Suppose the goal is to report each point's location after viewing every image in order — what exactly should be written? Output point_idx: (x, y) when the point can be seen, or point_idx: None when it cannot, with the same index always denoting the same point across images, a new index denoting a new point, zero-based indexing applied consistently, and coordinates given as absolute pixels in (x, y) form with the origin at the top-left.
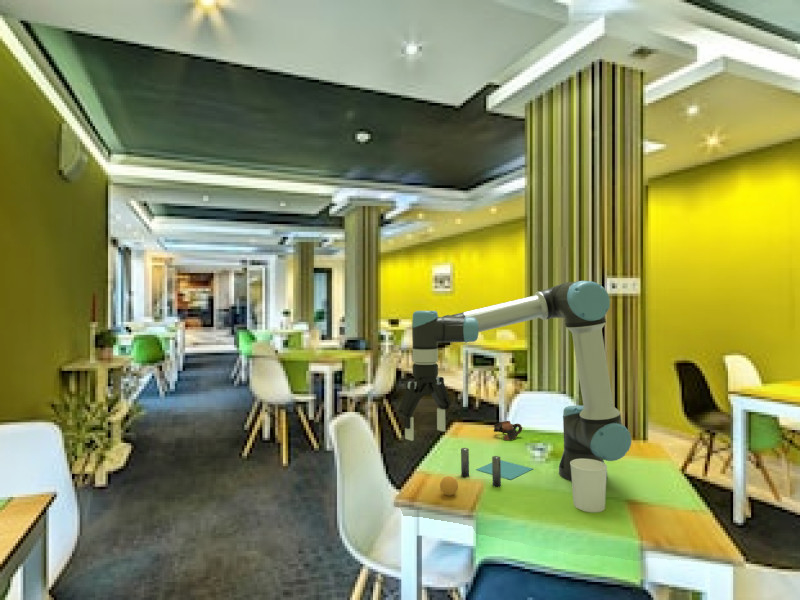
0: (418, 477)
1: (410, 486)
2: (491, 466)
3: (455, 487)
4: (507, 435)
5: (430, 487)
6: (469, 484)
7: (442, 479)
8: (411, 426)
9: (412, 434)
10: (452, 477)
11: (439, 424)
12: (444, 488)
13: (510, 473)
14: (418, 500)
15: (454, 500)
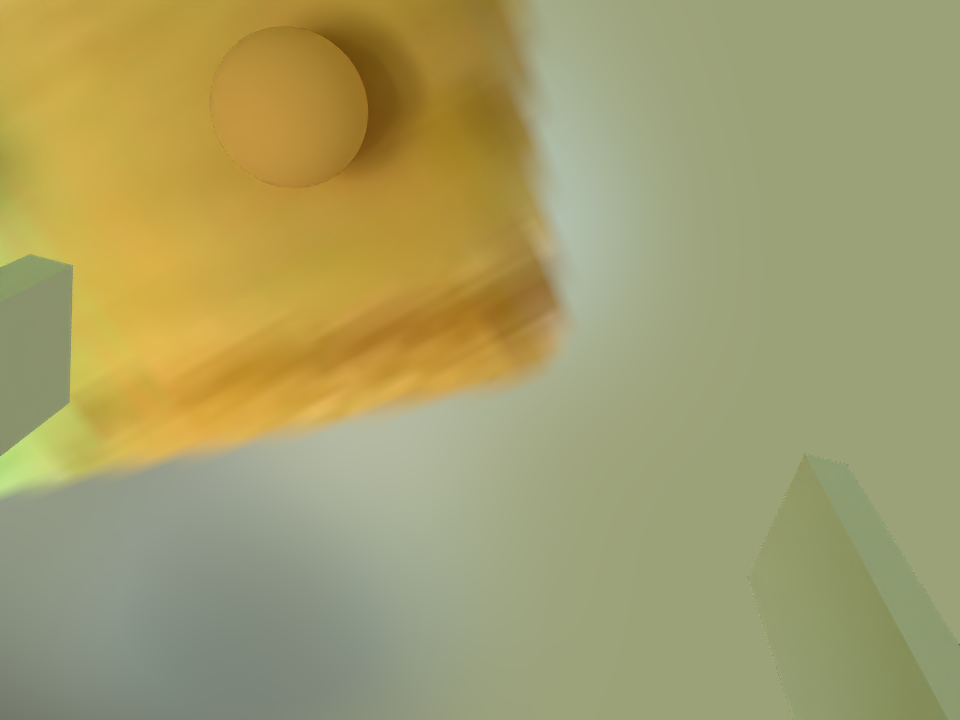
0: (181, 442)
1: (343, 414)
2: None
3: (302, 31)
4: None
5: (276, 291)
6: (39, 54)
7: (305, 167)
8: (947, 632)
9: (867, 516)
10: (242, 90)
11: (6, 398)
12: (365, 112)
13: None
14: (519, 254)
15: (375, 12)
